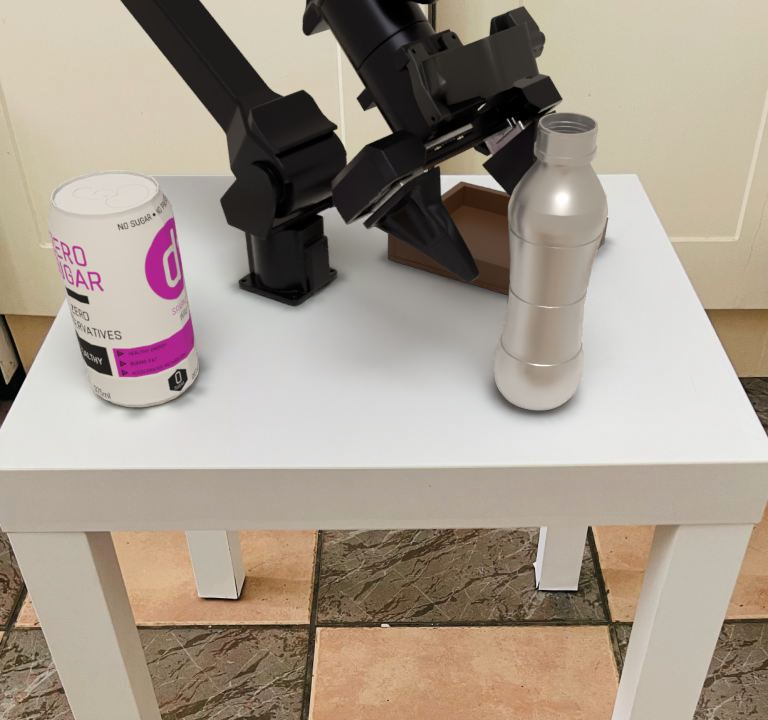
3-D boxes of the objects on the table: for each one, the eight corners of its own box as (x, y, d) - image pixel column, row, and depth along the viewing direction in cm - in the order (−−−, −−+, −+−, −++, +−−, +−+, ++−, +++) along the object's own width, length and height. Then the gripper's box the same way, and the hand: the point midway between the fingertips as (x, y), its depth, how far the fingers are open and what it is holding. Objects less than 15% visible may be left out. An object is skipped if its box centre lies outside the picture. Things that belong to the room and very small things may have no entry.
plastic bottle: (575, 371, 71) (617, 104, 57) (580, 425, 66) (628, 146, 52) (491, 367, 71) (513, 101, 58) (490, 420, 66) (514, 143, 53)
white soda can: (214, 356, 73) (186, 171, 63) (176, 418, 67) (138, 224, 57) (119, 346, 74) (76, 162, 64) (73, 405, 68) (17, 213, 58)
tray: (387, 259, 85) (387, 233, 83) (459, 205, 93) (461, 180, 91) (541, 305, 78) (545, 278, 77) (604, 242, 87) (608, 217, 85)
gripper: (358, -2, 49) (509, 251, 51) (554, -61, 60) (674, 151, 62) (271, 115, 59) (402, 325, 60) (454, 46, 69) (561, 228, 71)
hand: (515, 254), depth 63 cm, fingers open, 9 cm apart
